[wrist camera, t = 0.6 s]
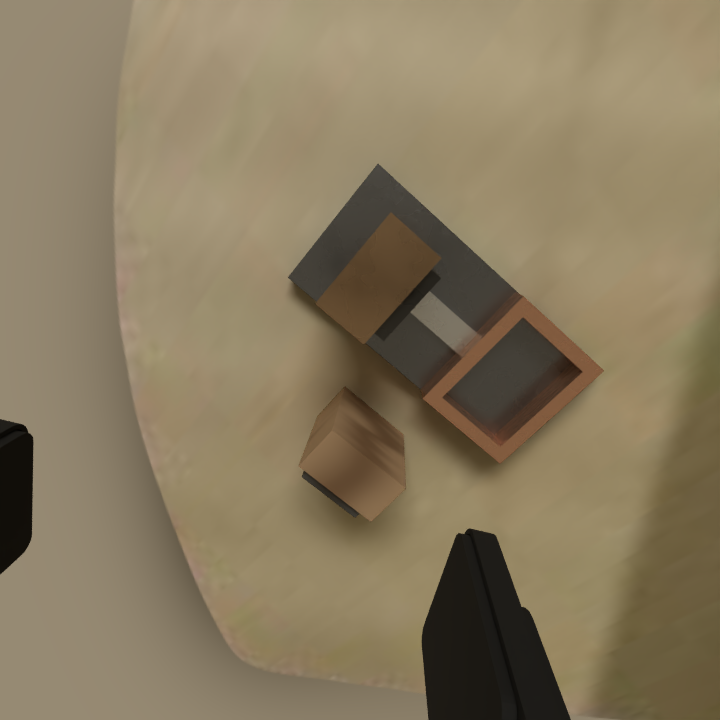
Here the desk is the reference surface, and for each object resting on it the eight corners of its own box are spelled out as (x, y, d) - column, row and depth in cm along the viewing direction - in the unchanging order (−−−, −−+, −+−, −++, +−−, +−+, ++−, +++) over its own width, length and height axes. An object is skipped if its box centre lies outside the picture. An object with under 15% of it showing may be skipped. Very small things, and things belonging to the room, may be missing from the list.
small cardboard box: (403, 434, 38) (405, 488, 30) (369, 468, 39) (363, 529, 32) (344, 386, 37) (332, 430, 29) (311, 422, 38) (291, 473, 31)
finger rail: (593, 364, 35) (663, 415, 26) (499, 449, 38) (532, 523, 29) (378, 166, 32) (372, 145, 23) (292, 274, 35) (256, 295, 25)
